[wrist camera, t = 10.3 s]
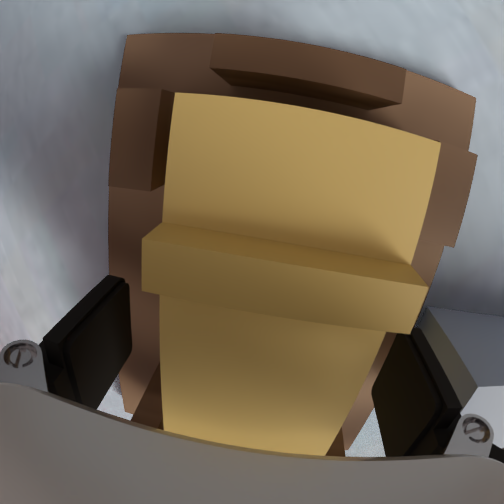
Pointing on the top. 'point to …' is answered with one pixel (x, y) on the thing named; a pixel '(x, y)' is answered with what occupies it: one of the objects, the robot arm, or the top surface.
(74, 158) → the top surface
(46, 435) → the robot arm
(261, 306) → the tan toy brick
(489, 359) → the grey rectangular block
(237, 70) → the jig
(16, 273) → the top surface
